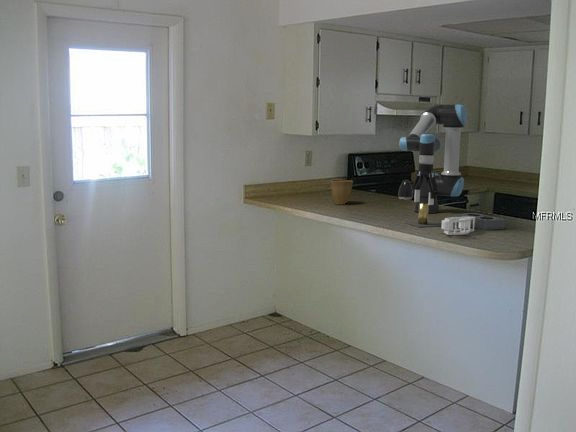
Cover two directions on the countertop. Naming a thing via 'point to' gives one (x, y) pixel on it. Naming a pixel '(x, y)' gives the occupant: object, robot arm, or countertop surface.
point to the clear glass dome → (405, 190)
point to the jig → (484, 221)
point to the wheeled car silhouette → (463, 225)
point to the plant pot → (341, 190)
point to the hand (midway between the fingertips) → (423, 203)
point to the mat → (423, 225)
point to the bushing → (423, 213)
